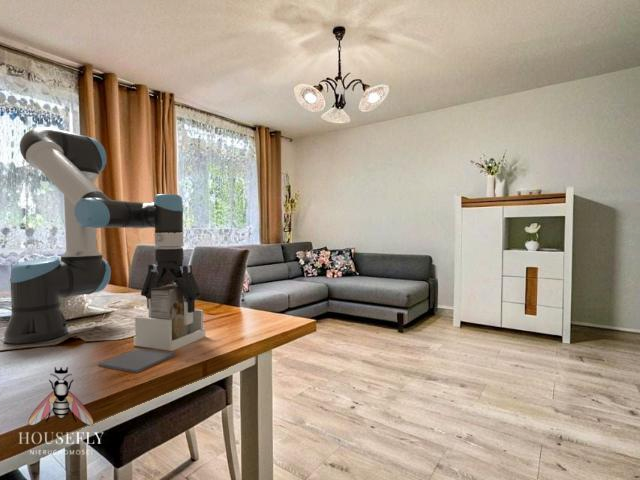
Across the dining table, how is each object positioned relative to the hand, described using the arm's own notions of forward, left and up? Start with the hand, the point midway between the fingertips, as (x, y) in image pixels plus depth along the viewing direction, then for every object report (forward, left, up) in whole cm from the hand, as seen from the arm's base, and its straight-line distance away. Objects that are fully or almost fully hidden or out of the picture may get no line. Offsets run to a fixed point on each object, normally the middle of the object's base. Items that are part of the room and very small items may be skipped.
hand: (170, 321), depth 102 cm
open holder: (0, 0, -6) cm, 6 cm away
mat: (+4, -15, -6) cm, 16 cm away
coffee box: (0, 0, -6) cm, 6 cm away
